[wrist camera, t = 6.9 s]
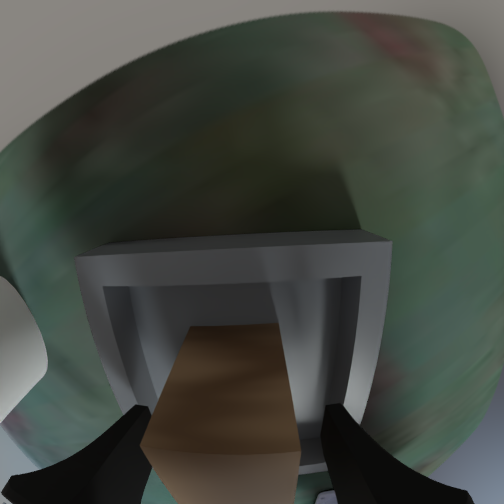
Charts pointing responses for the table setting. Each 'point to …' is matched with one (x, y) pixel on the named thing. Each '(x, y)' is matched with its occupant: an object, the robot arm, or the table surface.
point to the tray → (244, 312)
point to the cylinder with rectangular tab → (18, 349)
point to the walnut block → (227, 419)
